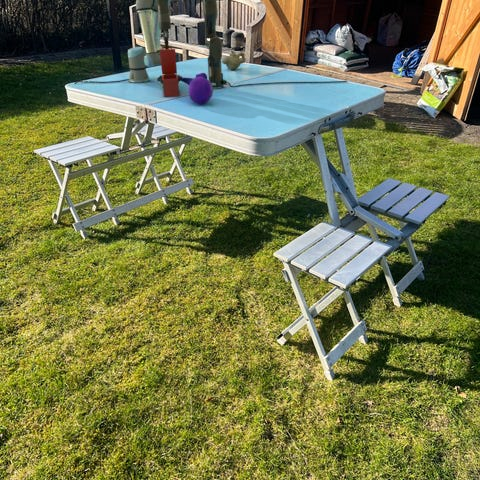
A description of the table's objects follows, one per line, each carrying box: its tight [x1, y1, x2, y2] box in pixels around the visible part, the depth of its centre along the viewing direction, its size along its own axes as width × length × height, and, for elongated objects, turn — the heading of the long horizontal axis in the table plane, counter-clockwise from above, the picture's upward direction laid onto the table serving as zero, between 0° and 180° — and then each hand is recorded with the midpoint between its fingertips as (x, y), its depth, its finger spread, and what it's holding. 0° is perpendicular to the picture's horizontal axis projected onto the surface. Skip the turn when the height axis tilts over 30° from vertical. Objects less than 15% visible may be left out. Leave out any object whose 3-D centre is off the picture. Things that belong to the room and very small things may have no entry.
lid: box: [160, 45, 178, 75], centre depth 296 cm, size 18×10×8 cm
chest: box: [161, 73, 180, 98], centre depth 297 cm, size 17×10×11 cm, turn 9°
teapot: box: [221, 49, 246, 71], centre depth 371 cm, size 21×12×15 cm, turn 120°
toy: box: [178, 72, 214, 105], centre depth 275 cm, size 16×18×27 cm
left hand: (170, 81), depth 301 cm, fingers closed on chest, 10 cm apart
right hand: (167, 49), depth 294 cm, fingers open, 4 cm apart
